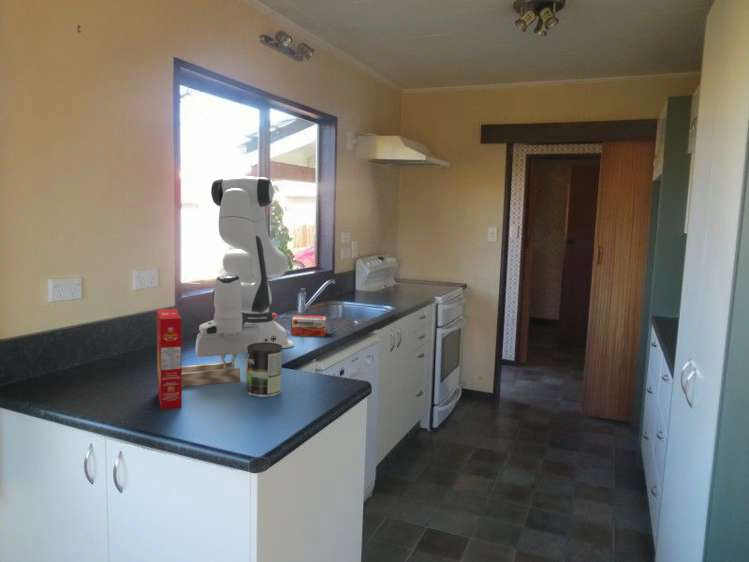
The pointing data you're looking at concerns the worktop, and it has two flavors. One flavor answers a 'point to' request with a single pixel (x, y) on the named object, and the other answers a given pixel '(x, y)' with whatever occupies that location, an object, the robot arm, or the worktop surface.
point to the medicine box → (309, 326)
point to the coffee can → (264, 369)
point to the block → (246, 365)
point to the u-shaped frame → (208, 374)
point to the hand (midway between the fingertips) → (228, 367)
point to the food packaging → (169, 359)
